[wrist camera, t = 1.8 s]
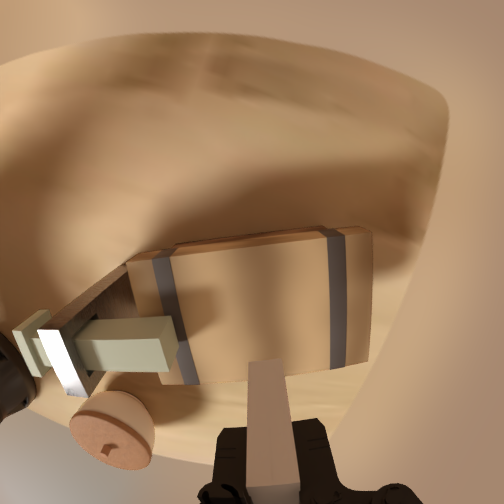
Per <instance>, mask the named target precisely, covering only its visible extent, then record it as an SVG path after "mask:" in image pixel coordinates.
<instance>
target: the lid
mask: <svg viewBox="0 0 504 504" xmlns="http://www.w3.org/2000/svg"><path fill="white" fill-rule="evenodd" d="M126 266H127V270H128V275H129V279H130V283H131V287H132V291H133V295H134V298H135V302H136V306H137V309H138V313H139V317H140V318H143V317H158V316H171V317H172V321H173V325H174V329H175V332H176V336H177V340H178V344H179V348H178V351H177V353H176V356H175V359H174V361H173V364H172V367H171V369H170V372H157V373H158V375H159V378H160V381H161V384H162V385H184V384H185V385H199V384H210V383H226V382H239V381H248V362H253V361H263V360H272V359H280V358H282V363H283V370H284V376H292V375H299V374H305V373H311V372H317V371H323V370H329V369H330V370H331V369H337V368H342V367H345V366H349V365H354V364H358V363H363V362H367V361H368V356H369V345H370V331H371V314H372V284H373V250H372V232H370V231H368V230H366V229H364V228H362V227H360V226H354V227H345V228H336V229H334V228H333V229H325V230H317V231H310V232H301V233H293V234H284V235H276V236H268V237H260V238H251V239H243V240H235V241H227V242H220V243H212V244H204V245H196V246H189V247H181V248H171V249H164V250H159V251H151V252H144V253H138V254H137V255H136V256H134V257H133V258H131V259H130V260H129V261H127V262H126Z"/></svg>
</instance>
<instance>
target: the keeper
mask: <svg viewBox="0 0 504 504" xmlns="http://www.w3.org/2000/svg"><path fill="white" fill-rule="evenodd" d="M125 318H140V317H139V313H138V309H137V306H136V302H135V298H134V295H133V291H132V287H131V283H130V279H129V275H128V270H127V266H126V265H120V266H118V267H117V268H116V269H114V270H113V271H112V272H110V273H109V274H108V275H106V276H105V277H103V278H102V279H101V280H99V281H98V282H97V283H95V284H94V285H93V286H92V287H90V288H89V289H88V290H86V291H85V292H84V293H82V294H81V295H80V296H79V297H77V298H76V299H75V300H73V301H72V302H71V303H70V304H68V305H67V306H66V307H65V308H63V309H62V310H61V311H60V312H58V313H57V314H56V315H55V316H53V317H52V318H51V319H50V320H49V321H47V322H46V323H45V324H44V325H42V326H41V327H40V328H39V329H38V330H37V331H38V333H39V336H40V338H41V341H42V343H43V346H44V348H45V350H46V352H47V355H48V357H49V359H50V361H51V364H52V366H53V368H54V370H55V372H56V374H57V376H58V378H59V380H60V382H61V384H62V386H63V388H64V390H65V392H66V393H67V395H70V396H77V397H84V398H89V397H90V396H91V394H92V393H93V391H94V390H95V388H96V386H97V385H98V383H99V382H100V380H101V379H102V377H103V376H104V374H105V373H106V371H96V370H85V368H84V366H83V363H82V361H81V359H80V357H79V354H78V352H77V349H76V347H75V344H74V342H73V339H72V336H73V335H74V334H75V333H76V332H77V331H78V330H79V329H80V328H81V327H82V326H83V325H84V324H85V323H86V322H87V321H88V320H103V319H125Z"/></svg>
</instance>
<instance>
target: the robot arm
mask: <svg viewBox="0 0 504 504" xmlns="http://www.w3.org/2000/svg"><path fill="white" fill-rule="evenodd" d="M35 396H36V387H35V383H34V380H33V377H32V375H31V373H30V371H29V369H28V367H27V365H26V363H25V362H24V360H23V359H22V357H21V356H20V354H19V353H18V352H17V350H16V349H15V348H14V347H13V345H12V344H11V343H10V342H9V341H8V340H7V339H6V338H5V337H4V336H3V335H2V334H1V333H0V423H1V422H2V421H3V419H5V418H6V417H8V416H10V415H12V414H14V413H16V412H18V411H20V410H22V409H24V408H26V407H28V406H29V405H30V403H31V402H32V401H33V400H34V398H35ZM197 497H198V499H199V500H200V502H201V503H200V504H423V503H422V502H421V501H420V500H419V498H418V497H417V496H416V495H415V494H414V492H413V491H412V490H411V489H410V488H409V487H407V486H406V485H403V484H399V483H397V484H389V485H386V486H383V487H382V488H380V489H379V490H378V491H354V490H351V489H348V488H347V487H345V486H343V485H342V484H341V482H340V481H339V479H338V476H337V472H336V468H335V464H334V460H333V456H332V453H331V449H330V445H329V441H328V438H327V433H326V430H325V426H324V425H323V424H322V423H321V422H320V421H319V420H318V419H317V418H314V419H307V420H301V421H293V422H291V415H290V409H289V402H288V396H287V389H286V383H285V376H284V370H283V363H282V358H280V359H272V360H263V361H253V362H248V404H247V427H237V428H223V430H222V431H221V433H220V434H219V436H218V437H217V444H216V453H215V461H214V470H213V479H212V482H211V483H208V484H206V485H205V486H204V487H203V488H202V489H201V490H200V491H199V493H198V496H197Z"/></svg>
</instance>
